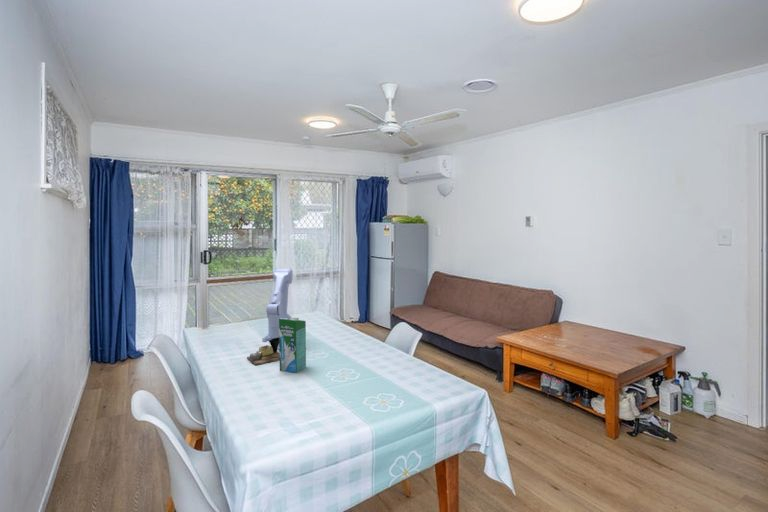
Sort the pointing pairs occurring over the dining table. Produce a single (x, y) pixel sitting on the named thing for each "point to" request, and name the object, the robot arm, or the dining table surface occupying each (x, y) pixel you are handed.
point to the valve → (266, 351)
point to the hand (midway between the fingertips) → (274, 352)
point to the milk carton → (292, 344)
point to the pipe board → (263, 358)
